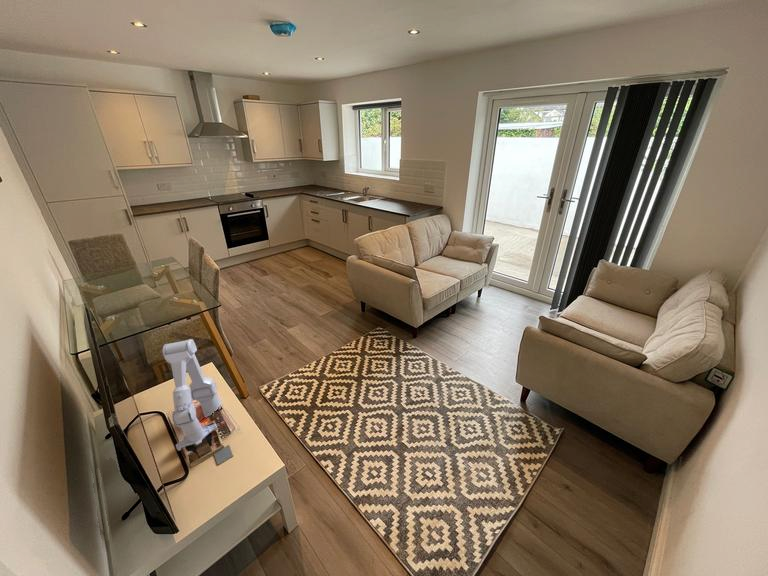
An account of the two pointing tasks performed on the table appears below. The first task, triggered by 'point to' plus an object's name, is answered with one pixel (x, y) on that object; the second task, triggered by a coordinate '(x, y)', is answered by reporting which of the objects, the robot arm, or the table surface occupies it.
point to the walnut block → (203, 448)
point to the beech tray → (206, 454)
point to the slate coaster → (223, 454)
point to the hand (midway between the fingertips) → (204, 448)
